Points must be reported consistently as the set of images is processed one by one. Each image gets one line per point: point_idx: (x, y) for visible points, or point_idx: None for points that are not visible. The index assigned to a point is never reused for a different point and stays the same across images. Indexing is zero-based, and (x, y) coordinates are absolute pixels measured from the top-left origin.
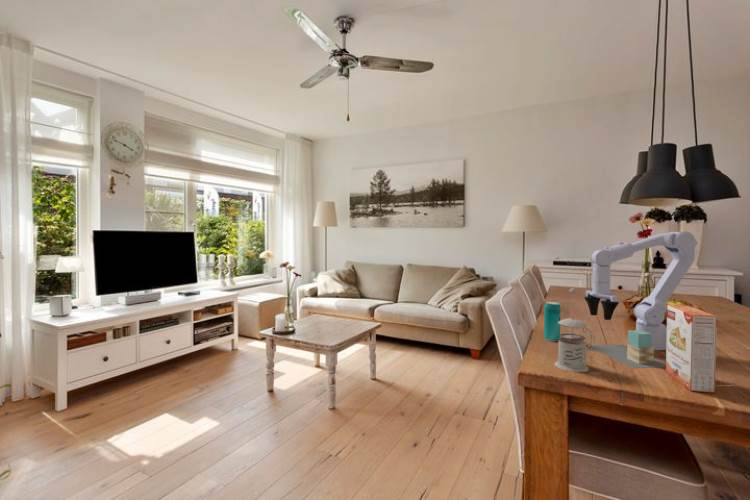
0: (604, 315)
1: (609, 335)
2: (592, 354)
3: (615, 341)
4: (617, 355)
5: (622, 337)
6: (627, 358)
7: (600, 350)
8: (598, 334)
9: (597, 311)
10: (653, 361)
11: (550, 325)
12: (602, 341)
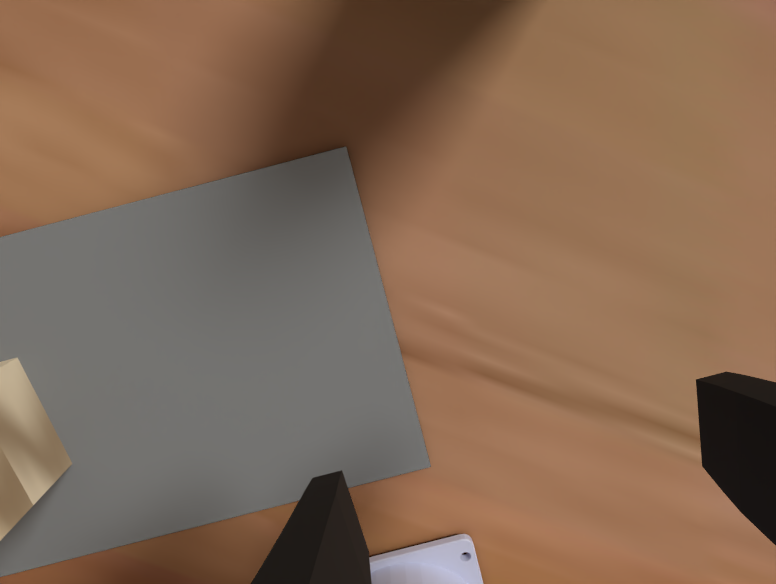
0: (304, 520)
1: None
2: (81, 106)
3: (547, 466)
4: (82, 315)
5: (663, 555)
6: (11, 359)
7: (207, 227)
8: None
9: (763, 532)
10: None
11: None
12: (540, 366)
